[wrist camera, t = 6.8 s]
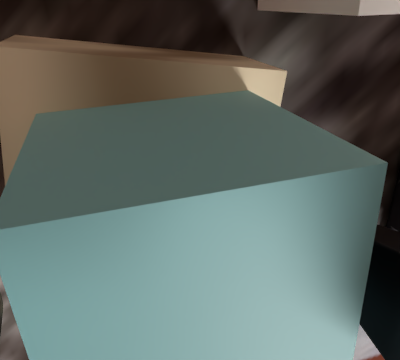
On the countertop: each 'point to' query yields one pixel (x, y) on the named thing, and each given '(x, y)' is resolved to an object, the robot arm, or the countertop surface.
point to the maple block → (111, 80)
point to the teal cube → (188, 233)
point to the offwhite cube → (333, 6)
